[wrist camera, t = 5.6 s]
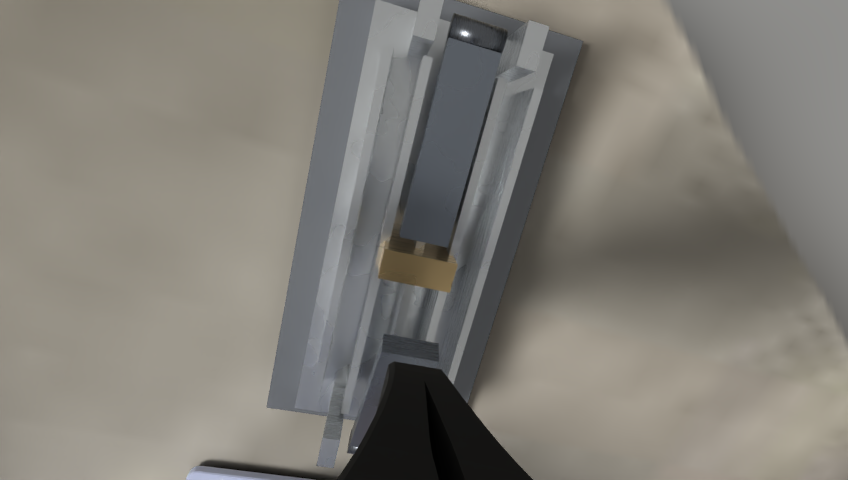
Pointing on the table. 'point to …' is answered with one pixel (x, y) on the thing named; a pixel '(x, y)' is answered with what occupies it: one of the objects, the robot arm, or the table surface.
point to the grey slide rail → (385, 204)
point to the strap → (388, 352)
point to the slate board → (327, 173)
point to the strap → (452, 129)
